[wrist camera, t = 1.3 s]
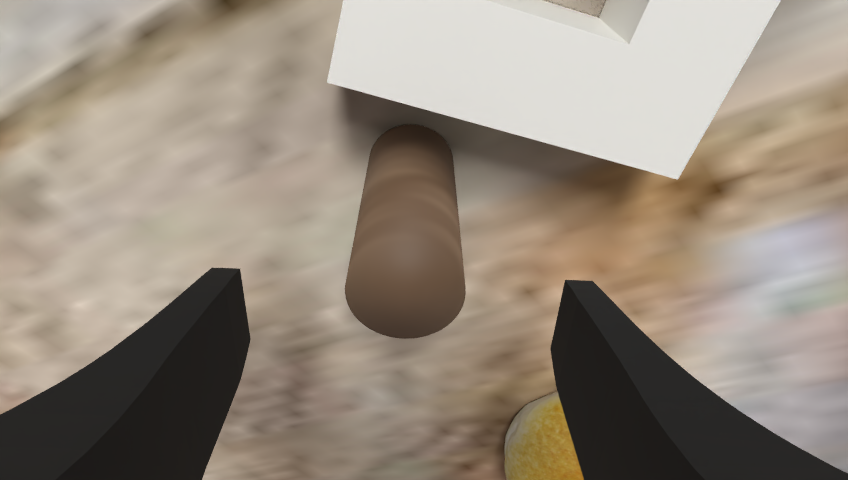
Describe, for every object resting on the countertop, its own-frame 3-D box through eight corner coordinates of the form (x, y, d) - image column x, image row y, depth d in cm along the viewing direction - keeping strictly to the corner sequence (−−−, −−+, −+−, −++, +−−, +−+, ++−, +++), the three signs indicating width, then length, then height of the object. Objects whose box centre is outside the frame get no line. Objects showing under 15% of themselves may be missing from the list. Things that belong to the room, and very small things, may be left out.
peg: (464, 137, 19) (482, 259, 13) (439, 209, 21) (444, 348, 15) (380, 114, 19) (359, 229, 13) (360, 189, 20) (334, 324, 14)
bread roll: (558, 347, 24) (580, 424, 21) (729, 411, 26) (773, 492, 23) (465, 463, 28) (471, 544, 25) (619, 511, 30) (644, 592, 27)
